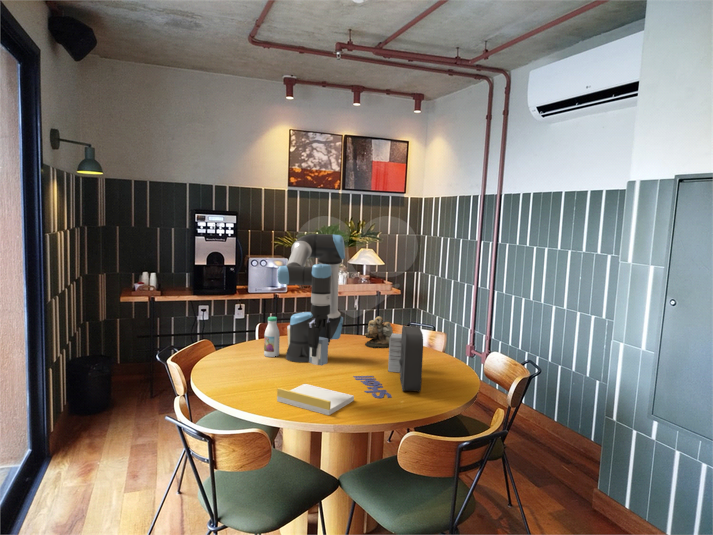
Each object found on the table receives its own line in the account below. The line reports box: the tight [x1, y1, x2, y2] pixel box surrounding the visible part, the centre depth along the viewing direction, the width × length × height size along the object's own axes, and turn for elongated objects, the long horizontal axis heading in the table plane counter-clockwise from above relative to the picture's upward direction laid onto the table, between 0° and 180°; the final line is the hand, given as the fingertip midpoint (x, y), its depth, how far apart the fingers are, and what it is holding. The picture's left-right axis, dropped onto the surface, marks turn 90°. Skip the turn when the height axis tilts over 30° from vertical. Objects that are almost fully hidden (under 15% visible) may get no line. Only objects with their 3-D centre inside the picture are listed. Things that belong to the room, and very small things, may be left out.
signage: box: [352, 375, 392, 399], centre depth 209 cm, size 28×1×10 cm
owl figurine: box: [364, 316, 394, 349], centre depth 278 cm, size 18×12×17 cm, turn 107°
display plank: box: [276, 383, 355, 416], centre depth 190 cm, size 24×18×5 cm
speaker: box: [399, 325, 424, 393], centre depth 211 cm, size 25×9×25 cm, turn 178°
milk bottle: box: [263, 316, 281, 358], centre depth 250 cm, size 8×8×20 cm
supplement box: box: [387, 332, 402, 373], centre depth 234 cm, size 10×9×17 cm
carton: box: [308, 337, 329, 367], centre depth 190 cm, size 6×4×10 cm
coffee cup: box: [286, 324, 290, 348], centre depth 267 cm, size 9×9×12 cm
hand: (318, 362), depth 190 cm, fingers closed on carton, 4 cm apart
